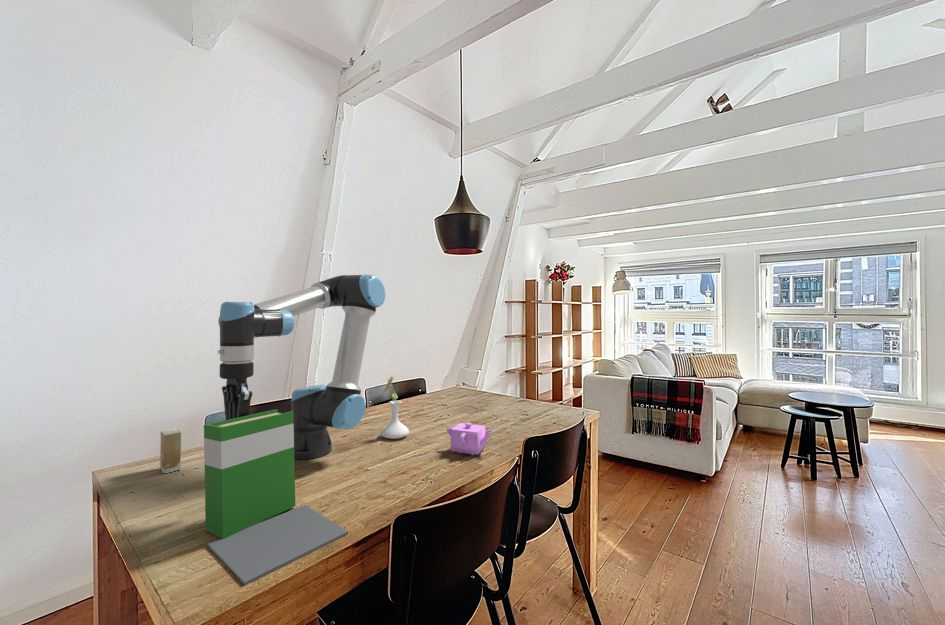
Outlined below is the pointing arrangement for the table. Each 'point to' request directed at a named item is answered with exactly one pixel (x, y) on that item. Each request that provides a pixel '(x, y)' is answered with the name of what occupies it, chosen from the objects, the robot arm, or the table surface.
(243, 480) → the hardback book
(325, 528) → the felt mat
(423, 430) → the table surface
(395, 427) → the flower in vase
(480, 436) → the teapot
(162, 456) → the skincare box
